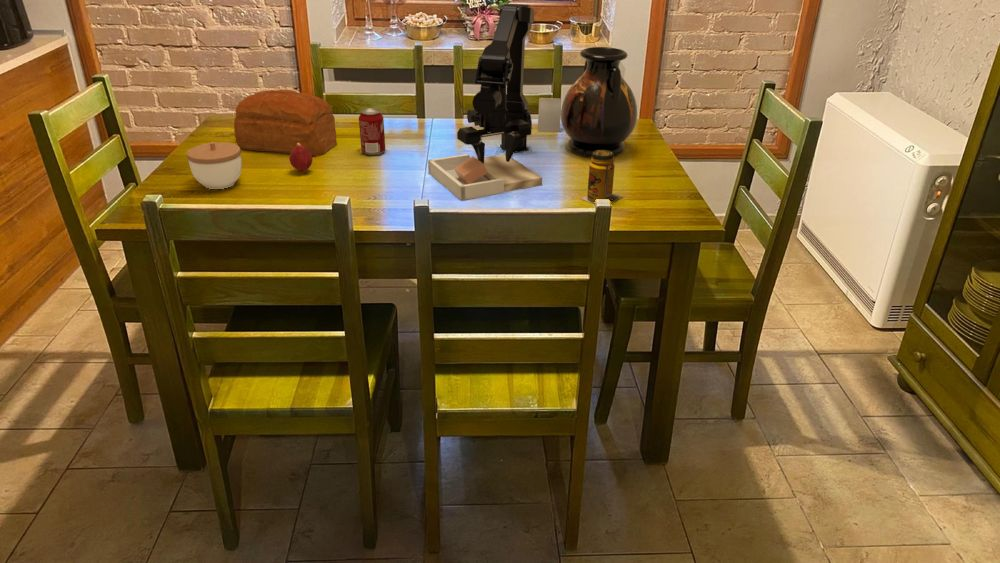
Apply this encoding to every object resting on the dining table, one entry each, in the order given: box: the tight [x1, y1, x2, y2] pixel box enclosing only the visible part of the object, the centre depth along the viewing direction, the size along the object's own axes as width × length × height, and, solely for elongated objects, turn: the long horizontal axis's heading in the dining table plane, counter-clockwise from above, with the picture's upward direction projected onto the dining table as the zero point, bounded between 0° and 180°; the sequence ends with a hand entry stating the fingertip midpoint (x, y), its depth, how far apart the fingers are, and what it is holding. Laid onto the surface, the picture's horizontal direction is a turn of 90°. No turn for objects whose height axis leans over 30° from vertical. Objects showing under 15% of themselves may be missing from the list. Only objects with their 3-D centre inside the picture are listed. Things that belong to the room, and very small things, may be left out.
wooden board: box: [476, 153, 543, 193], centre depth 194 cm, size 11×20×2 cm, turn 27°
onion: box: [289, 143, 313, 173], centre depth 193 cm, size 6×6×8 cm
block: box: [454, 156, 488, 184], centre depth 189 cm, size 6×6×3 cm
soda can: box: [358, 107, 386, 156], centre depth 206 cm, size 7×7×12 cm
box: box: [427, 153, 505, 201], centre depth 189 cm, size 12×21×4 cm, turn 27°
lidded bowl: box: [186, 141, 243, 190], centre depth 183 cm, size 13×13×11 cm
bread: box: [233, 88, 337, 157], centre depth 209 cm, size 16×27×16 cm, turn 77°
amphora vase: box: [560, 46, 638, 158], centre depth 207 cm, size 22×22×28 cm
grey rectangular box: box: [537, 97, 562, 133], centre depth 227 cm, size 4×7×10 cm, turn 87°
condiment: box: [580, 150, 624, 204], centre depth 179 cm, size 7×8×12 cm
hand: (494, 163), depth 191 cm, fingers open, 7 cm apart
